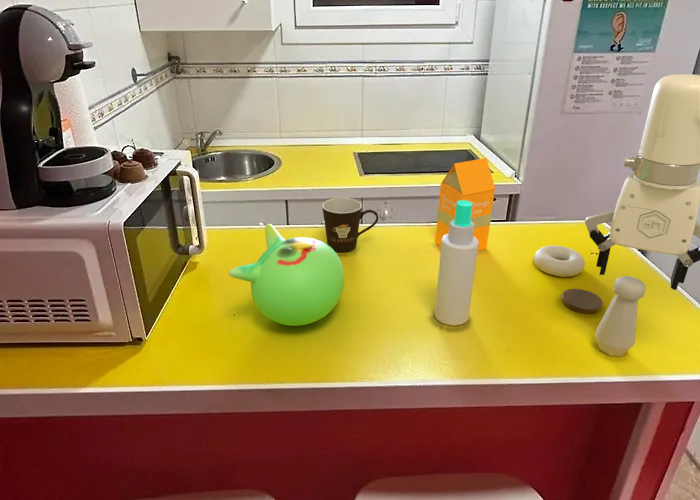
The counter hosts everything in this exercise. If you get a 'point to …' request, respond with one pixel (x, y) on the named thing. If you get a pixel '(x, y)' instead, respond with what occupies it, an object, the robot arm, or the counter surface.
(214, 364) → the counter surface
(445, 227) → the orange juice
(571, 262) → the donut
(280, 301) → the toy bird
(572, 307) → the coaster
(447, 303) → the spray bottle
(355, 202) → the coffee mug
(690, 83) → the robot arm
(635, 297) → the salt shaker
